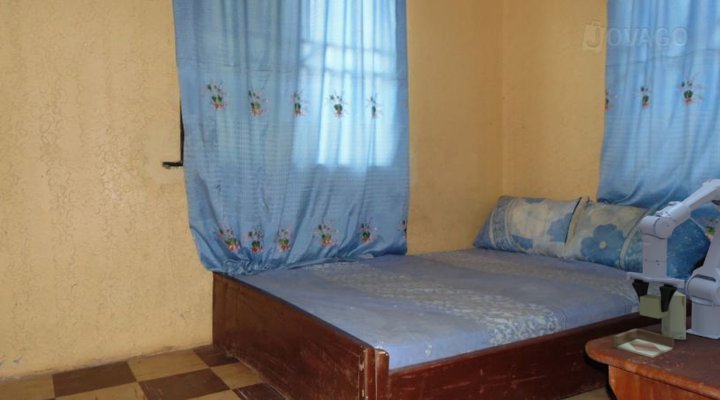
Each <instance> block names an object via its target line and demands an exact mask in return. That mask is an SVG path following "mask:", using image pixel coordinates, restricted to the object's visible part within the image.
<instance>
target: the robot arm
mask: <svg viewBox="0 0 720 400" xmlns="http://www.w3.org/2000/svg"><path fill="white" fill-rule="evenodd" d="M708 203H711V204H712V205H713V207H714V208H715V210H718V212H720V178H719V179H718V178H709V179H708V180H707V181H705V182H703V183H702V184H701V187H700V188H698V189H697V190H696V191H695V192H693V193H692V194H690V195H689V196H688V197H686V198H685V199H684V200H683V201H669V202H668V203H667V204H668V205H666V206H665V207H664V208H662V209H661V210H657V211H655V213H654V214H653V215H646V216H644V217H643V218H642V219H641V220H640V222H639V225H637V230H638V232H639V233H640V235H641V241H642V272H636V271H635V272H634V271H628V272H626V280H630V281H631V280H632V281H633V282H631V286H632V288H633V289H634V291H635V293H636V295H637V299H638V301H639V304H640V297H641V296H644V295H648V294H649V293H648V292H649V286H650V284H657V285H660V286H659V287H658V288H659V293H660V296H661V312H667V311H668V307H669V304H670V301H671V299H672V297H673V295H674V293H675V292H676V291H677V290H678V289H682V288H685V293H686V295H688V296H689V300H691V328H689V329H686V334H687V333H688V334H689V335H695V336H698V337H699V336H701V337H704V338H709V339H713V340H718V339H720V218H719V219H718V222H717V224H716V227H715V231H714V233H713V236H712V239H711V241H710V244H709V248H708V251H707V254H706V256H705V260H704V262H703V265H702V266H700V267H697V268H696V269H694V270H693V272H692V274H691V276H690V277H689V278H688V280H687V281H686V284H685V279H681V278H676V277H672V276H668V275H667V270H668V269H667V265H668V264H667V263H668V260H667V259H668V258H667V257H668V238H670V237H671V236H672V235H673V234H672V233H673V231H674V229H676V227H678V226H680V225H682V223H684V222H686V221H687V220H688V219H690V217H691V216H692V215H691V213H692V212H693V211H696V210H697V209H699V208H700V207H702V206H704V205H706V204H708Z"/></svg>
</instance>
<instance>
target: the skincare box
mask: <svg viewBox="0 0 720 400" xmlns="http://www.w3.org/2000/svg"><path fill="white" fill-rule="evenodd" d="M686 330H687V294H683V293H682V292H679V291H677V290H676V292H675V293H674V295H673V297H672V299H671V301H670V304H669V307H668V316H665V317H662V318H661V334H662V335H666V336H670V337H674V340H686V339H687V333H686Z"/></svg>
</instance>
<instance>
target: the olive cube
mask: <svg viewBox="0 0 720 400" xmlns="http://www.w3.org/2000/svg"><path fill="white" fill-rule="evenodd" d="M639 315H640V316H644V317H648V318H653V319H662V317H665V316H668V311H667V312H661V295H656V294H651V293H647V295H644V296H641V297H640V303H639Z"/></svg>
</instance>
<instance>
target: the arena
mask: <svg viewBox="0 0 720 400" xmlns="http://www.w3.org/2000/svg"><path fill="white" fill-rule="evenodd" d="M613 348H615V349H616V348H617V349H620V350H622V351H626V352H630V353H633V354H637V355H641V356H645V357H649V358H655V357H657V356H660V355H662V354H665V353H667V352H669V351H672V350H674V349H675V339H674V337H670V336H666V335H664V334H663V333H657V332H653V331H648V330H645V329H641V328H633V329H629V330H628V331H624V332H621V333H618V334H616V335H614V336H613Z"/></svg>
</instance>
